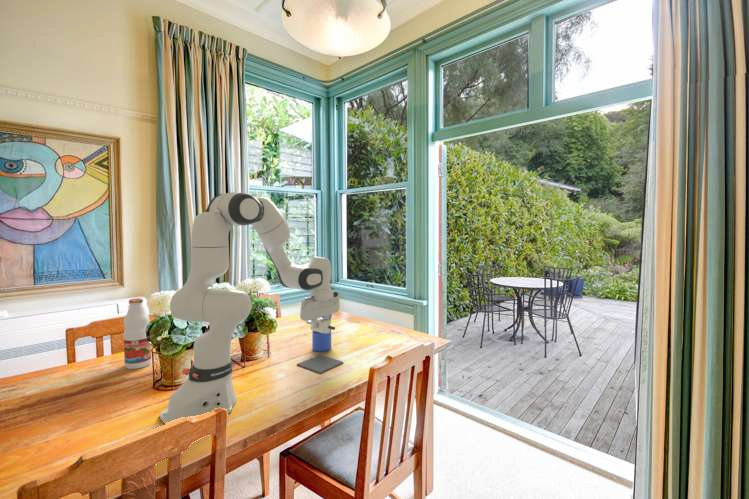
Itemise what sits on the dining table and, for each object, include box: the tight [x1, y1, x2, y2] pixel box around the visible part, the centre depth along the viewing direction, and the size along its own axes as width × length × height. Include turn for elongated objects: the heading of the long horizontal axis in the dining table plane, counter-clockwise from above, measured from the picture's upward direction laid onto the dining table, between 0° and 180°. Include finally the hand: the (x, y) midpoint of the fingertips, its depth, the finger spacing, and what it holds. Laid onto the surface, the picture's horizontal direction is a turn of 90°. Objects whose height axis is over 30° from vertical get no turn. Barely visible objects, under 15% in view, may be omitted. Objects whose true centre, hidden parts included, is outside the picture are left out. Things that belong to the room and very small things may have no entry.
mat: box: [296, 354, 344, 375], centre depth 155 cm, size 14×14×1 cm
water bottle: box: [311, 314, 333, 353], centre depth 173 cm, size 9×9×25 cm
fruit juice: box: [123, 297, 152, 370], centre depth 150 cm, size 9×9×28 cm
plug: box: [305, 317, 336, 334], centre depth 153 cm, size 15×4×5 cm, turn 54°
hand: (320, 326), depth 154 cm, fingers closed on plug, 4 cm apart
